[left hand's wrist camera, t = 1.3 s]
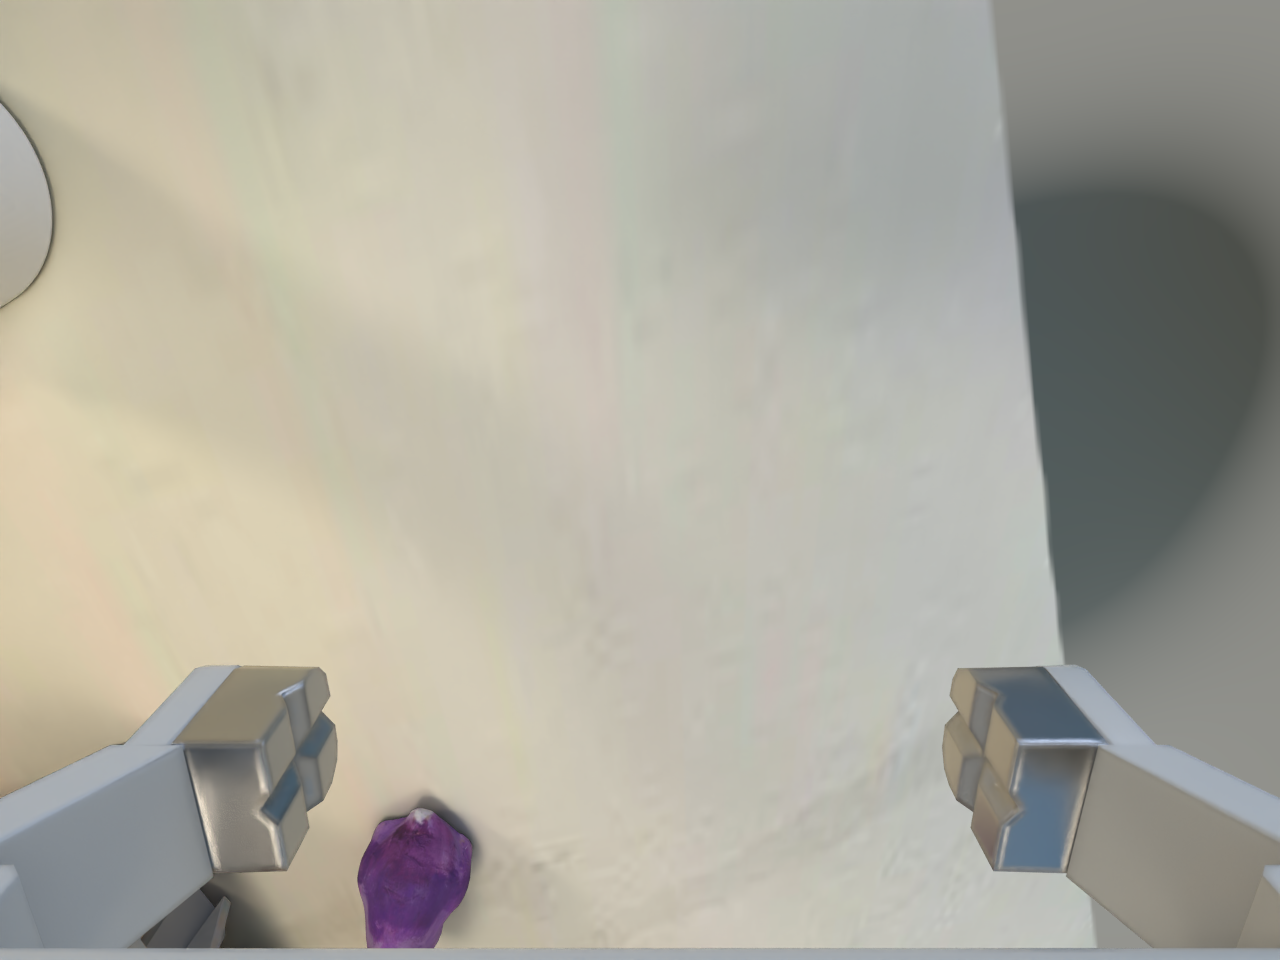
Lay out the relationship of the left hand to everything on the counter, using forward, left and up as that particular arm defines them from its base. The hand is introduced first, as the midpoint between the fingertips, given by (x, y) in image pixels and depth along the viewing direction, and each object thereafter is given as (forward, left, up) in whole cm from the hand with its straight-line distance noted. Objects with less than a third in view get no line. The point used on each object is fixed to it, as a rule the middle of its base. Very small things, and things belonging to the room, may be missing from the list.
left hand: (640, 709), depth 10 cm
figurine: (-13, -45, -41) cm, 62 cm away
